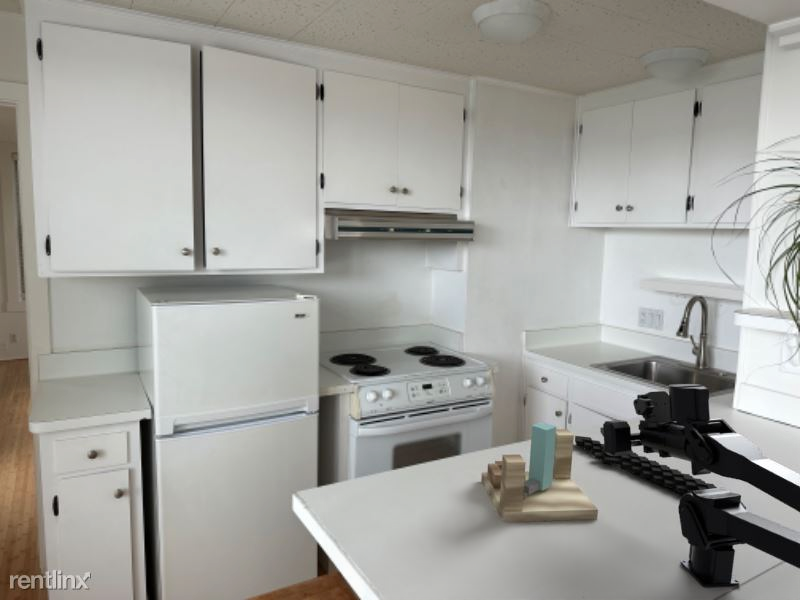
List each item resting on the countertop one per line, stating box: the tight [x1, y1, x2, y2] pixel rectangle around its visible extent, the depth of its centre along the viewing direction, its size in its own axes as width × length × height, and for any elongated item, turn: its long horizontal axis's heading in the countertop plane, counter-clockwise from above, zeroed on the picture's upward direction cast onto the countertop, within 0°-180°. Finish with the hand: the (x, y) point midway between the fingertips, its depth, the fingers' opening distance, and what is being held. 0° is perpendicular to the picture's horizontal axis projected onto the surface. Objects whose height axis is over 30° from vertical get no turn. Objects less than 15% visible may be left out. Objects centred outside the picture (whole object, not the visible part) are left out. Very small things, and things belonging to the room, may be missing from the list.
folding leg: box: [525, 421, 557, 495], centre depth 115 cm, size 7×4×13 cm, turn 132°
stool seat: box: [480, 428, 599, 523], centre depth 116 cm, size 17×19×12 cm
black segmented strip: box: [574, 435, 747, 511], centre depth 130 cm, size 11×40×4 cm, turn 33°
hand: (620, 428), depth 114 cm, fingers open, 9 cm apart
